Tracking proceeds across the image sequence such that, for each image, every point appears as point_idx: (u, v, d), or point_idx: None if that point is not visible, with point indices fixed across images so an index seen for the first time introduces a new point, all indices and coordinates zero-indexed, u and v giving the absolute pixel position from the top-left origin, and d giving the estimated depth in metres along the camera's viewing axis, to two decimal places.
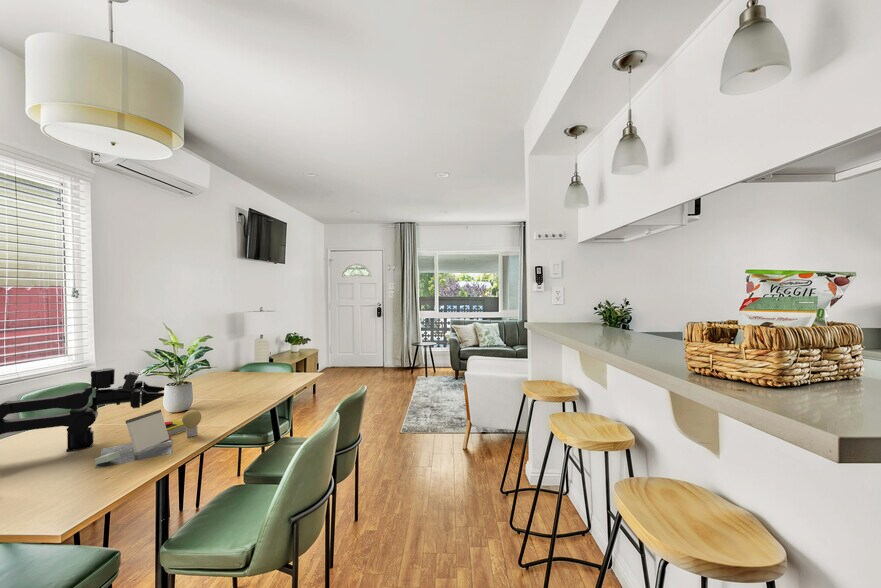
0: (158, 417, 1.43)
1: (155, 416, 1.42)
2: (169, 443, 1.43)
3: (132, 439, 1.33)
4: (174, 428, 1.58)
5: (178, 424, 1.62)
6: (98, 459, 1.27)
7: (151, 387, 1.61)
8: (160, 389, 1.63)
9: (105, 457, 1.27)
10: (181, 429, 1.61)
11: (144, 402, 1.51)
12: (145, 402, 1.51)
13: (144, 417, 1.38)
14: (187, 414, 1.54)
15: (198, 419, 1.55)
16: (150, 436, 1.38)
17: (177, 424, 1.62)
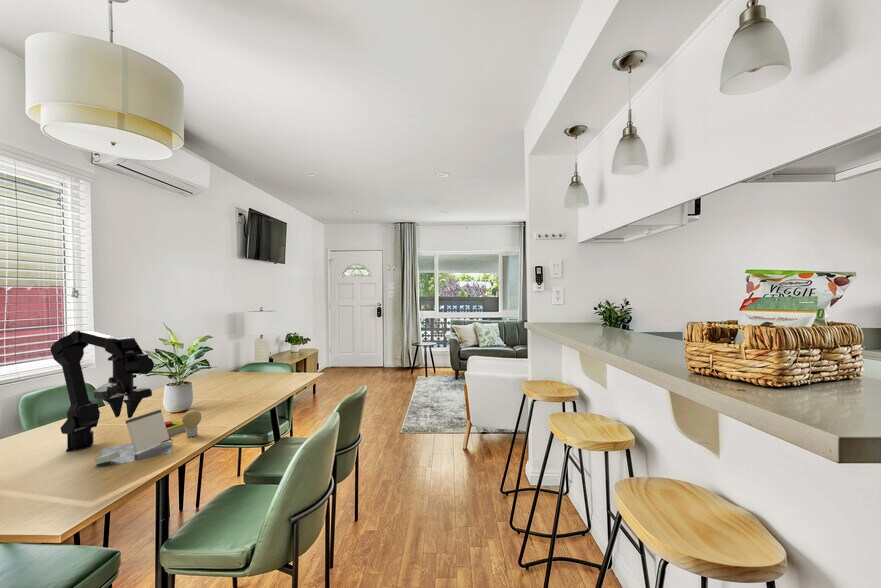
0: (158, 417, 1.43)
1: (155, 416, 1.42)
2: (169, 443, 1.43)
3: (132, 439, 1.33)
4: (174, 428, 1.59)
5: (177, 424, 1.62)
6: (98, 459, 1.27)
7: None
8: None
9: (105, 457, 1.27)
10: (181, 429, 1.61)
11: None
12: None
13: (144, 417, 1.38)
14: (187, 414, 1.54)
15: (198, 419, 1.55)
16: (150, 436, 1.38)
17: (176, 424, 1.62)
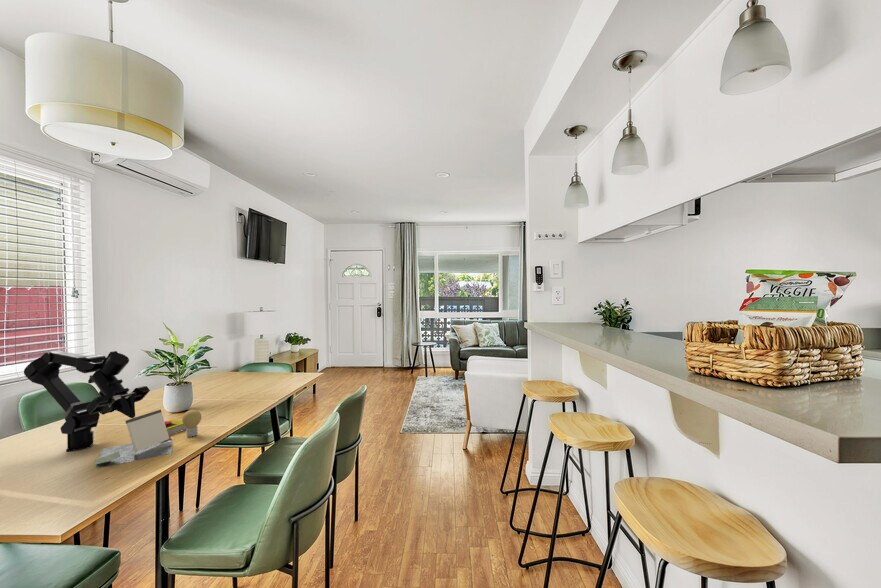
0: (158, 417, 1.43)
1: (155, 416, 1.42)
2: (169, 443, 1.43)
3: (132, 439, 1.33)
4: (173, 428, 1.59)
5: (177, 423, 1.63)
6: (98, 459, 1.27)
7: None
8: None
9: (105, 457, 1.27)
10: (180, 429, 1.62)
11: None
12: None
13: (144, 417, 1.38)
14: (187, 414, 1.54)
15: (198, 419, 1.55)
16: (150, 436, 1.38)
17: (176, 423, 1.62)
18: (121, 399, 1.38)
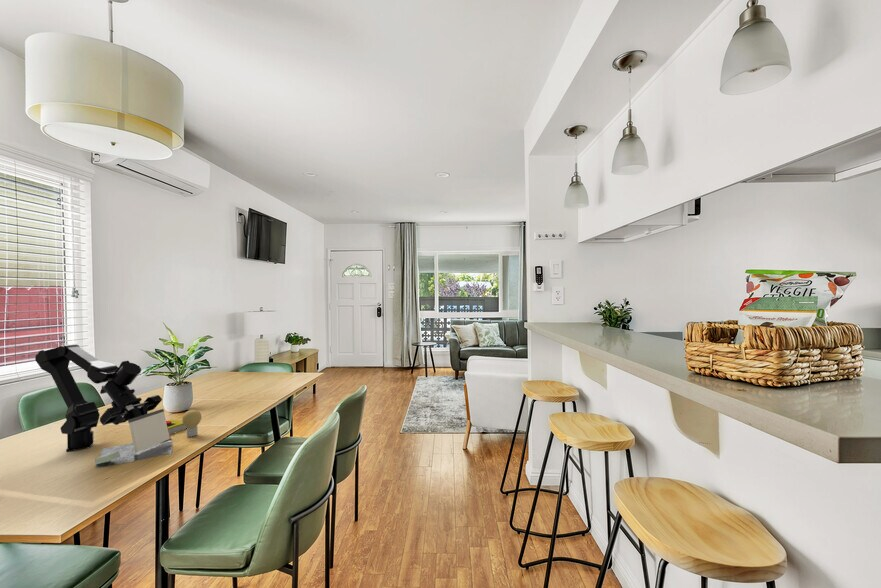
0: (160, 416, 1.43)
1: (157, 415, 1.42)
2: (169, 443, 1.43)
3: (133, 439, 1.33)
4: (173, 427, 1.59)
5: (176, 423, 1.63)
6: (98, 459, 1.27)
7: None
8: None
9: (105, 457, 1.27)
10: (180, 428, 1.62)
11: None
12: None
13: (147, 416, 1.38)
14: (187, 414, 1.54)
15: (198, 419, 1.55)
16: (151, 436, 1.38)
17: (175, 423, 1.63)
18: (134, 409, 1.37)
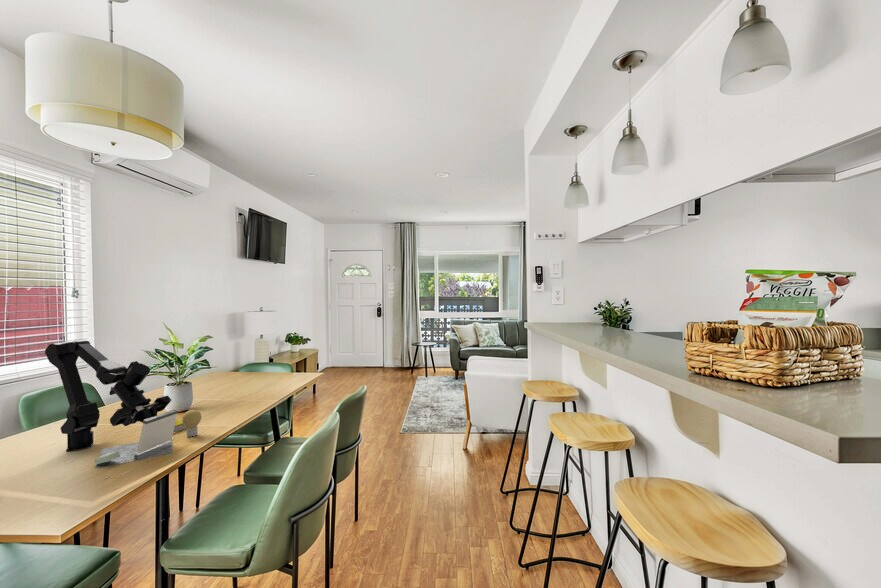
0: (172, 418, 1.42)
1: (170, 417, 1.41)
2: (169, 443, 1.43)
3: (141, 439, 1.32)
4: None
5: (176, 423, 1.63)
6: (98, 459, 1.27)
7: None
8: None
9: (105, 457, 1.27)
10: (179, 428, 1.62)
11: None
12: None
13: (160, 418, 1.37)
14: (187, 414, 1.54)
15: (198, 419, 1.55)
16: (157, 437, 1.37)
17: (175, 423, 1.63)
18: (144, 410, 1.36)
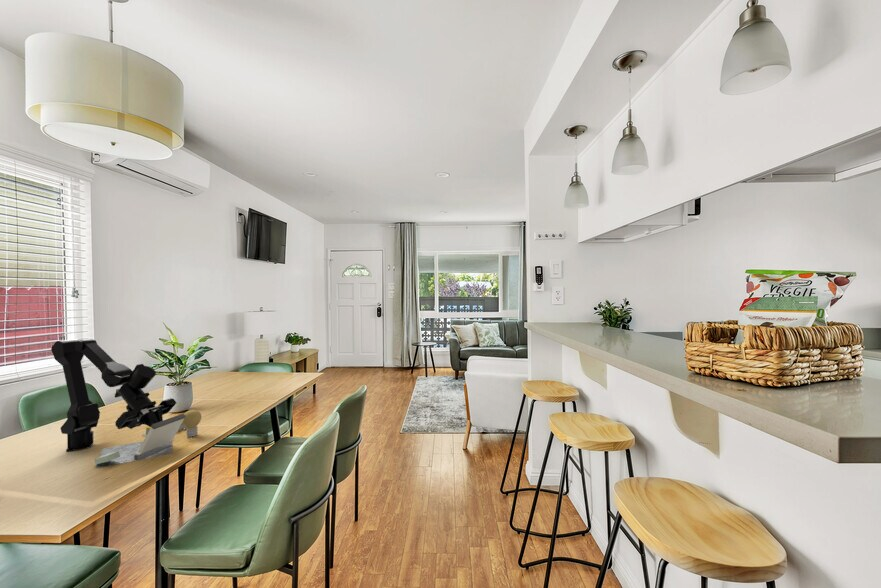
0: (178, 422, 1.41)
1: (177, 422, 1.40)
2: (169, 443, 1.43)
3: (145, 442, 1.32)
4: None
5: None
6: (98, 459, 1.27)
7: None
8: None
9: (105, 457, 1.27)
10: (179, 428, 1.62)
11: None
12: None
13: (168, 423, 1.36)
14: (187, 414, 1.54)
15: (198, 419, 1.55)
16: (160, 440, 1.37)
17: None
18: (149, 413, 1.36)
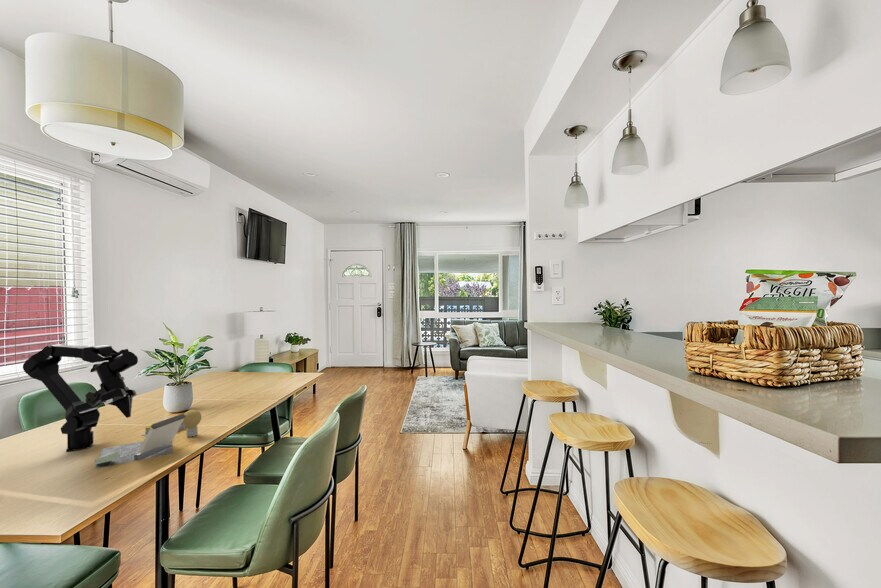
0: (178, 422, 1.41)
1: (177, 422, 1.40)
2: (169, 443, 1.43)
3: (145, 442, 1.32)
4: None
5: None
6: (98, 459, 1.27)
7: None
8: None
9: (105, 457, 1.27)
10: (179, 428, 1.63)
11: None
12: None
13: (168, 423, 1.36)
14: (187, 414, 1.54)
15: (198, 419, 1.55)
16: (160, 440, 1.37)
17: None
18: (128, 396, 1.43)
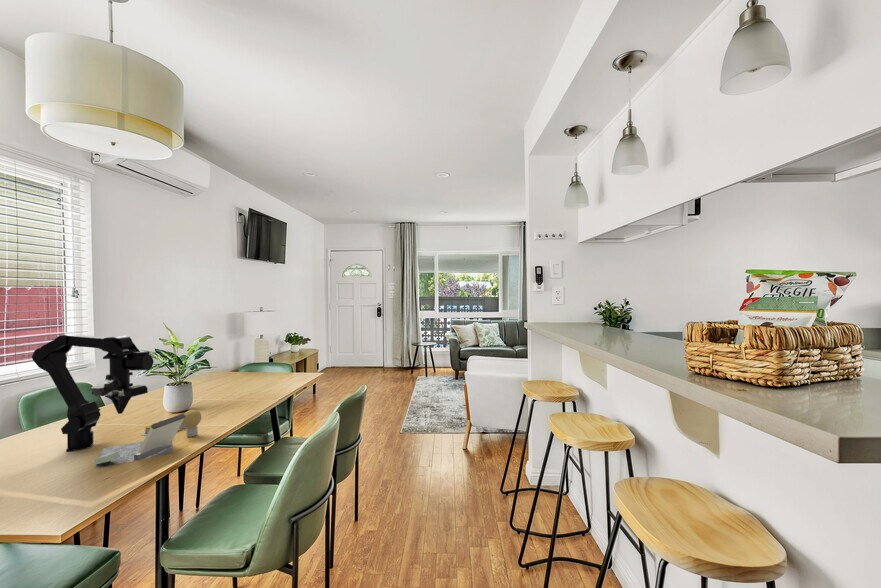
0: (178, 422, 1.41)
1: (177, 422, 1.40)
2: (169, 443, 1.43)
3: (145, 442, 1.32)
4: None
5: None
6: (98, 459, 1.27)
7: None
8: None
9: (105, 457, 1.27)
10: None
11: None
12: None
13: (168, 423, 1.36)
14: (187, 414, 1.54)
15: (198, 419, 1.55)
16: (160, 440, 1.37)
17: None
18: None
